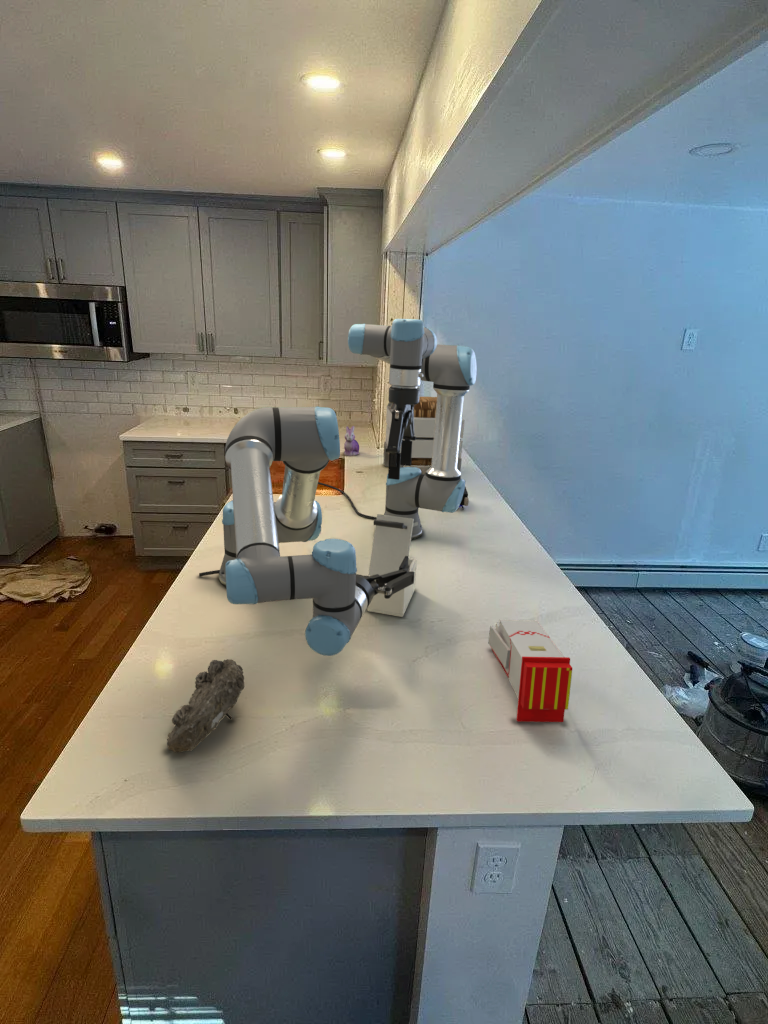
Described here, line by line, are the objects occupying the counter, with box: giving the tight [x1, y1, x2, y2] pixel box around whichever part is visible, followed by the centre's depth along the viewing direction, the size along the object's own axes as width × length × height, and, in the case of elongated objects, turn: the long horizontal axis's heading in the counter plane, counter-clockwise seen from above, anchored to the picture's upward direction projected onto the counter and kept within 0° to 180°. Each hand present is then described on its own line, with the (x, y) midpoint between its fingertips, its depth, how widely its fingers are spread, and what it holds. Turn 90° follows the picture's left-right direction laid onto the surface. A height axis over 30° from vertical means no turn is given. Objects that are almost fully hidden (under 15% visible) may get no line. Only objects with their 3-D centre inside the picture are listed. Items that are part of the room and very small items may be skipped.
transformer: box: [383, 396, 465, 474], centre depth 268 cm, size 34×33×41 cm
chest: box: [366, 557, 417, 618], centre depth 153 cm, size 15×10×10 cm, turn 166°
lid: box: [367, 513, 414, 576], centre depth 141 cm, size 16×10×8 cm
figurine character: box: [459, 486, 470, 511], centre depth 230 cm, size 7×8×15 cm
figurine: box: [343, 425, 360, 456], centre depth 302 cm, size 9×10×15 cm
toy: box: [488, 619, 573, 723], centre depth 122 cm, size 12×13×30 cm
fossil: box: [166, 658, 245, 754], centre depth 106 cm, size 22×10×15 cm
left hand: (377, 557), depth 131 cm, fingers open, 13 cm apart
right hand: (399, 471), depth 143 cm, fingers open, 13 cm apart
